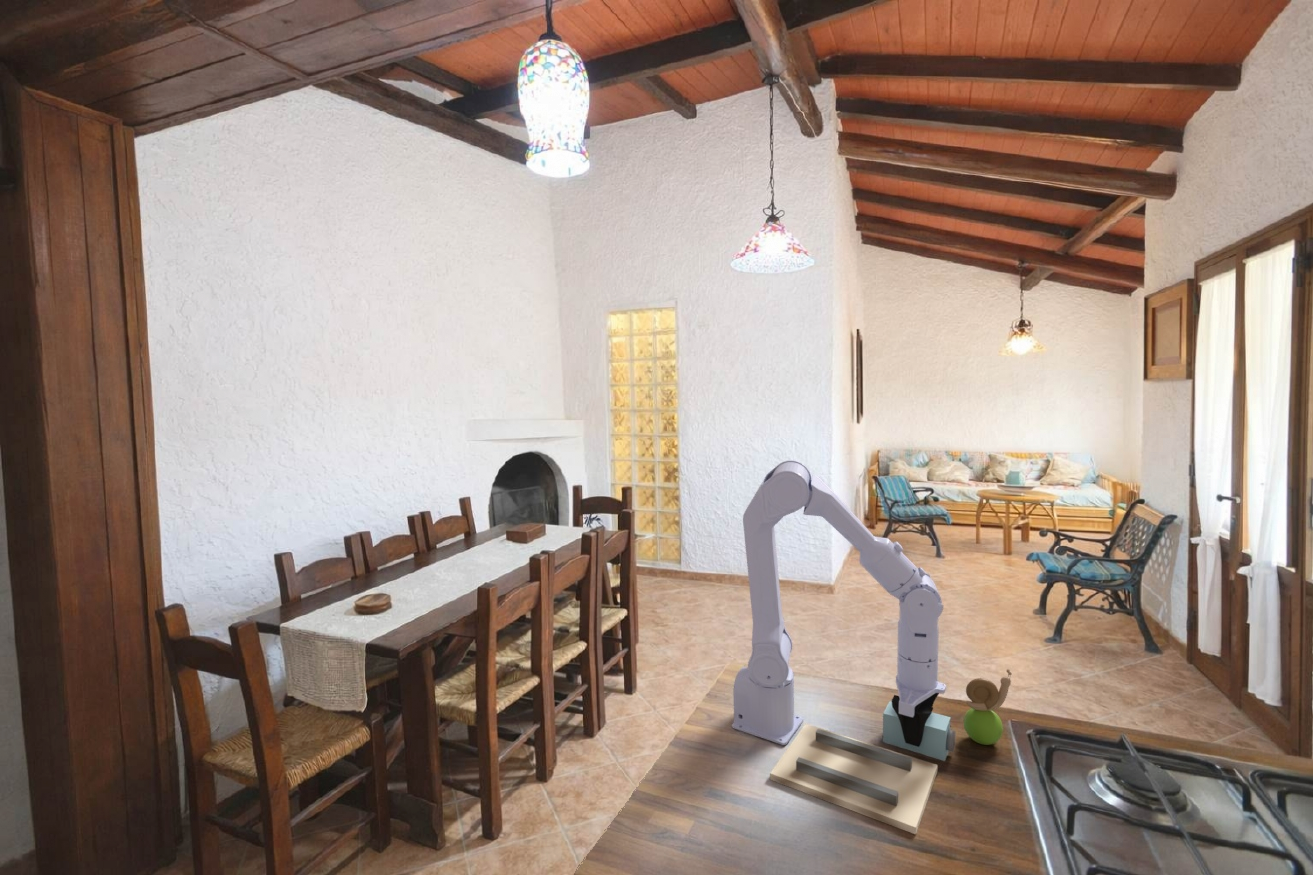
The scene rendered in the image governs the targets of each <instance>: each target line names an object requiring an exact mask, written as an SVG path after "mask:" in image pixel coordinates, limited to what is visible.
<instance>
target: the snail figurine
mask: <svg viewBox="0 0 1313 875" xmlns="http://www.w3.org/2000/svg"><path fill="white" fill-rule="evenodd" d="M1006 673H1007V675H1008V676H1002V677H1001V678H1000V686H999V689H998V687H997V685H996V684H995V683H994V682H993V681H991V680H990V679H987V678H984V677H978V678H973V679H972V680H970V681H969V682H968V683H967V685H966V686H965V687H966V688H965V694H966V696H967V698H968V699H969V700H966V701H965V704H966V705H967V706H968V707H969V709H968V710H967V711H966V712H965V714H964V716H963V727H964V730H965V732H966V734H967V735H968V737H969V738H970V739H972V740H973V741H974V742H976V743H978V744H979V745H984V746H985V745H986V746H989V745H991V746H992V745H994V744H995V743H997V742H999V741H1000V740H1001V738H1002V736H1003V733H1004V726H1003V722H1002V720H1001V718H1000V716H999V715H998V714H997V713H996V712H995V711H993V710H996V709H999V708H1001V707H1002V706H1003V704H1004V703H1005V701H1006V698H1007V696H1008V693H1009V689H1010V688H1009V687H1010V686H1011V682H1012V680H1011V677H1010V676H1012V671H1011V669H1009V668H1007V669H1006Z"/></svg>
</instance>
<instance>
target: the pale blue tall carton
mask: <svg viewBox="0 0 1313 875" xmlns="http://www.w3.org/2000/svg"><path fill="white" fill-rule="evenodd" d="M882 743H885V744H887V745H891V746H895V747H898V748H901V749H904V750H907V751H911V752H914V753H916V754H921V755H923V756H926V757H930V758H934V759H936V760H941V761H943V762H946V759H947V756H948V754H949V752H952V753H953V752H954V749H955V743H956V730H954V729H951V716H946V715H943V714H939V713H936V712H933V711H932V713H931V715H930V716H929V718H928V719H927V721H926V723H925V727H924V733H923V738H922V741H921V744H920V746H919V747H917V746H914V745H911V744H907V743H905V740H904V736H903V732H902V727H901V723H900V720H899V718H898V716H897V714H896V712H895V710H894V709H893V707H892V700H889V702H888V703H887V705H886V707H885V710H883V712H882Z"/></svg>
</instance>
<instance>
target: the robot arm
mask: <svg viewBox="0 0 1313 875" xmlns="http://www.w3.org/2000/svg"><path fill="white" fill-rule="evenodd" d="M803 507H804V509H803V515H805V516H814V517H821V518H823V519H824V520H825V521H826V522H828V523H829V525H830V526H832V528H834V529H835V531H837V532H838V533H839V534H840V535H842V537H843V538H844V539H846V540H847V541H848V542H849V543H850V544H851V545H852V546H853V547H854V548H855V549H856V550H857V551H858V552H859V564H860V566H861V567H863V568H864V569H865V571H867V573H868V574H869V575H870V576H871V577H872V578H873V579H874V580H875V581H876V582H877V583H878V584H879V585H880V586H881V587H882V588H883V589H884V590H885V591H886V592H887V593H888V594H889V595H890V596H892V597H894V598H896V599H898V602H899V603H898V605H899V618H898V622H897V659H896V660H897V661H896V662H897V665H896V667H897V669H896V670H897V672H896V676H895V684H896V688H897V693H898V695H896V694H894V695H893V697H892V699H891V701H892V707H893V709H894V710H895V712H896V714H897V716H898V718H899V720H900V723H901V727H902V732H903V736H904V740H905V743H907V744H911V745H914V746H917V747H919V746H920V744H921V741H922V738H923V733H924V727H925V723H926V721H927V719H928V718H929V716H930V715H931V713H932V712H933V710H934V707H933V706H934V704H935V701H936V699H938V698H937V697H938V696H939V695H943V694H945V693H946V690H947V685H946V684H945V683H942V682H940V681H939V680H938V676H939V674H938V673H939V670H938V669H939V633H940V629H939V625H938V624H939V623H938V622H939V617H941V615H942V613H943V610H944V604H942V597H941V595H940V593H939V591H938V588H937V585H936V584H935V581H933V578H931V576H930V574H929V573H928V572H926V570H925V569H923V568H922V566H919V567H917V566H916V565H915V564H914V563H913V562H912V561H911V560H910V559H909V558H908V557H907V556H906V555H905V554H904V552H903V551H904V548H903V546H902V545H901V544H900V542H899V541H894V542H893V541H892V540H890V538H888V537H880V536H874V535H873V533H872V532H871V531H870V529H868V528H867V526H866V525H864V523H863V522H862V521H861V520H860V519H859V518H858V516H856V515H855V513H853V512H852V510H851V509H850V508H848V506H847V505H846V504H845V503H844V502H843V500H841V499H840V497H839V496H838V495H837V494H836V493H835V492H834V491H833V490H832V489H831V488H830V487H829V486H828V485H827V484H826V483H825V482H824V481H823V480H822V479H821V478H820V477H819V476H818V475H816V474H815V473H812V474H811V472H810V470H809V468H808V467H807V466H806V465H805V464H803V462H800V461H798V460H794V459H793V460H790V459H788V460H785V461H782V462H780V463H779V464H777V465H776V466H775V467H774V468H773V469H771V470H770V471H769V472H768V473H767V474H766V475H765V477H764V479H763V480H762V482H761V484H760V485H759V486H758V488H757V491H756V492H755V493H754V495H753V497H752V499H751V500H750V502H749V504H748V505H747V507H746V508H745V511H744V513H743V514H742V515H743V516H742V525H743V534H744V544H745V546H744V547H745V554H746V565H747V575H748V585H749V586H748V587H749V596H750V605H751V616H752V633H751V634H752V635H751V646H752V648H751V649H752V650H751V655H750V657H749V659H748V664H747V666H742V667H741V668H740V669H739V670H738V672H737V673H736V676H735V679H734V682H733V693H732V694H733V695H732V696H733V723H732V724H731V726H732V728H733V729H735V730H737V731H740V732H743V733H746V734H749V735H752V736H756V737H759V738H762V739H764V740H767V741H770V742H773V743H776V744H779V745H781V746H785V745H787V744H788V743H789V741H790V740H791V739H792V737H793V736H794V735H795V734H796V732H797V731H798V729H799V728H800V726H801V725H802V724H803V722H804V718H803V717H802V716H798V715H796V714H795V680H794V679H795V678H794V677H795V675H794V671H793V669H792V668H791V666H790V665H789V664H790V659H791V658H790V657H791V653H792V650H793V640H792V638H791V636H790V633H788V631H787V629H786V624H785V618H784V616H783V610H782V598H781V588H780V587H781V586H780V576H779V567H778V566H779V565H778V555H777V545H776V544H777V543H776V532H775V526H776V525H777V524H778V523H779V522H780V521H781V520H782V519H783V518H784V517H786V516H787V515H790V514H793V513H795V512H797V511H799V510H801V509H802V508H803Z"/></svg>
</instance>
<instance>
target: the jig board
mask: <svg viewBox="0 0 1313 875" xmlns="http://www.w3.org/2000/svg"><path fill="white" fill-rule="evenodd" d="M938 766H939V765H938V764H936V763H932V762H929V761H926V760H922V759H919V758H916V757H913V756H911V755H907V754H905V753H904V754H903V753H901V752H897V751H894V750H891V749H887V748H885V747H882V746H878V745H874V744H872V743H869V742H865V741H862V740H859V739H856V738H852V737H850V736H846V735H843V734H841V733H836V732H833V731H831V730H827V729H824V728H821V727H817V726H814V725H811V724H808V723H805V724H804V725H803V727H802V728H801V729H800V731H799V732H798V734H797V735H796V736H795V738H794V739H793V740H792V742H791V743H790V744H789V746H788V747H787V748H786V750H785V751H784V753H783V754H782V756H781V757H780V758H779V760H778V761H777V762H776V764H775V765H774V767H773V768H772V770H771V771H770V772H769V779H770V781H773V782H776V783H778V784H782V785H784V786H786V787H788V788H789V787H790V788H791V789H794V790H796V791H799V792H801V793H804V794H808V795H810V796H813V797H815V798H818V799H821V800H824V801H825V802H828V803H832V804H834V805H837V806H839V807H842V808H845V809H847V810H850V811H853V812H855V813H858V814H860V815H863V816H866V817H868V818H871V819H873V820H877V821H879V822H882V823H884V824H887V825H889V826H891V827H895V828H897V829H900V830H903V831H906V832H907V833H908V832H909V833H910V834H914V835H917V833H918V830H919V828H920V824H921V821H922V818H923V815H924V812H925V809H926V806H927V803H928V800H929V798H930V794H931V791H932V788H933V785H934V783H935V779H936V776H937V773H938V770H939V769H938V768H939V767H938Z"/></svg>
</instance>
